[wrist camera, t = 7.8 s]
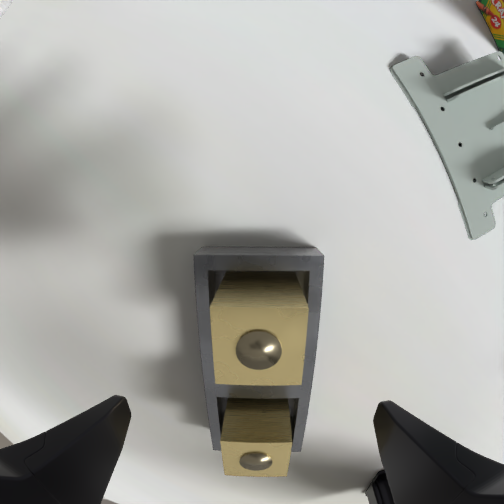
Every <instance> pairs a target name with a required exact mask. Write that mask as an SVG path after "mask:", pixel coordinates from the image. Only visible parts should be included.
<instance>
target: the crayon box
mask: <svg viewBox="0 0 504 504" xmlns="http://www.w3.org/2000/svg"><path fill="white" fill-rule="evenodd" d="M476 4H477V6H478V8H479V9H480V11H481V13H482V15H483V17H484V19H485V21H486V23H487V25H488V27H489V29H490V31H491V33H492V35H493V37H494V39H495V42H496V44H497V46H498V49H499V51H501V52H502V53H503V54H504V0H478V1H477V2H476Z"/></svg>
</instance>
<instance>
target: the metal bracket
mask: <svg viewBox="0 0 504 504" xmlns="http://www.w3.org/2000/svg"><path fill="white" fill-rule="evenodd" d="M497 56H499V57H500V59H501V61H500V60H498V58H497ZM390 71H391V74H392V76H393V77H394V79H395V80H396V82H397V83H398V85H399V86H400V88H401V89H402V91H403V93H404V94H405V96H406V97H407V99H408V101H409V102H410V104H411V106H413V107H415V108H416V110H417V112H418V113H419V115H420V117H421V119H422V121H423V122H424V124H425V126H426V128H427V130H428V132H429V134H430V136H431V138H432V140H433V142H434V144H435V146H436V148H437V150H438V152H439V154H440V157H441V159H442V161H443V163H444V166H445V168H446V170H447V173H448V175H449V177H450V180H451V182H452V185H453V187H454V190H455V193H456V195H457V198H458V202H459V203H458V206H459V209H460V212H461V215H462V218H463V221H464V224H465V228H466V231H467V234H468V238H469V239H470V240H475V239H477V238H479V237H481V236H482V235H484V234H486V233H487V232H489V231H491V230H492V229H494V228H495V219H494V215H493V211H492V204H493V203H494V202H495V201H497V200H499V199H500V198H502V197H504V54H503V53H502V52H501V51H498V52H495V53H492V54H489V55H487V56H484V57H481V58H478V59H476V60H473V61H470V62H468V63H465V64H463V65H460V66H458V67H455V68H453V69H450V70H448V71H445V72H443V73H441V74H438V75H432V74H431V72H430V71H429V69H428V68H427V66H426V65H425V63H424V62H423V60H422V59H421V58H420V57H418V56H415V57H412V58H410V59H407V60H405V61H403V62H400V63H398V64H396V65H394V66H392V67H391V68H390ZM420 73H423V75H424V76H423V77H422V76H421V75H420ZM441 107H443V108H444V111H442V110H441ZM459 142H460V143H461V147H459V145H458V144H459ZM474 178H475V179H476V181H475V182H473V179H474ZM485 212H486V216H484V213H485Z"/></svg>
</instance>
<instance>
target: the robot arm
mask: <svg viewBox="0 0 504 504" xmlns="http://www.w3.org/2000/svg"><path fill="white" fill-rule="evenodd" d="M130 419H131V411H130V408H129V405H128V402H127V400H126V398H125V397H123V396H118V395H114V396H112V397H110V398H108V399H107V400H105V401H103V402H101V403H99V404H98V405H96V406H94V407H92V408H90V409H88V410H86V411H85V412H83V413H81V414H79V415H77V416H75V417H73V418H71V419H69V420H67V421H65V422H64V423H62V424H60V425H58V426H56V427H54V428H52V429H50V430H48V431H46V432H43V433H41V434H39V435H37V436H35V437H33V438H30V439H28V440H25V441H23V442H20V443H17V444H14V445H11V446H8V447H5V448H2V449H0V504H101V501H102V499H103V496H104V494H105V491H106V488H107V486H108V483H109V481H110V478H111V476H112V473H113V471H114V468H115V466H116V463H117V461H118V458H119V456H120V453H121V451H122V448H123V445H124V441H125V437H126V434H127V430H128V426H129V423H130ZM373 423H374V428H375V433H376V438H377V443H378V448H379V453H380V457H381V461H382V464H383V467H384V471H381V472H379V473H377V475H376V477H375V478H374V480H373V482H372V483H371V485H370V487H369V488H368V490H367V491H366V493H365V494H366V496H367V497H368V500H369V504H504V464H501V463H499V462H496V461H494V460H491V459H489V458H486V457H484V456H482V455H480V454H477V453H475V452H473V451H471V450H470V449H468V448H466V447H464V446H462V445H461V444H459V443H456V441H454V440H452V439H451V438H449V437H447V436H446V435H444V434H442V433H441V432H439V431H437V430H436V429H434V428H433V427H431V426H429V425H428V424H426V423H425V422H423V421H422V420H420V419H418V418H417V417H415V416H414V415H412V414H411V413H409V412H407V411H406V410H404V409H403V408H401V407H400V406H398V405H397V404H395V403H394V402H392V401H389V400H388V401H383V402H380V403H379V404H378V407H377V410H376V413H375V415H374V419H373Z"/></svg>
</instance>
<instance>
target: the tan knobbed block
mask: <svg viewBox="0 0 504 504" xmlns="http://www.w3.org/2000/svg"><path fill="white" fill-rule="evenodd" d="M308 311H309V307H308V304H307V302H306V299H305V297H304V294H303V292H302V289H301V286H300V284H299V281H298V279H297V276H296V274H295V272H226V273H225V275H224V277H223V280H222V282H221V284H220V286H219V288H218V290H217V292H216V294H215V297H214V299H213V301H212V303H211V305H210V319H211V335H212V349H213V362H214V374H215V384H228V385H262V386H278V385H301V384H302V376H303V366H304V357H305V347H306V336H307V324H308Z"/></svg>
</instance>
